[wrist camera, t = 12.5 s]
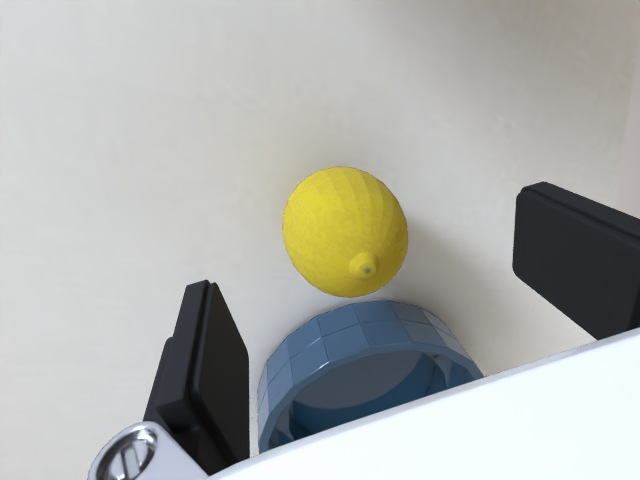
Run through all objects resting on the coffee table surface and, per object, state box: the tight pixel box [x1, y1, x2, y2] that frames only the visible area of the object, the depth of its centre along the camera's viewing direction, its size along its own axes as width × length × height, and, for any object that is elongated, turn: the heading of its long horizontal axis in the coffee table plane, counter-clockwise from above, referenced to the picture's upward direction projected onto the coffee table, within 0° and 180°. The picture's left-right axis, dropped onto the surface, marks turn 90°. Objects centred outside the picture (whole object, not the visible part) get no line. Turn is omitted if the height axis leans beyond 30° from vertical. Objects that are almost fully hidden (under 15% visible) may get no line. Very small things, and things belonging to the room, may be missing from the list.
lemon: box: [282, 167, 408, 298], centre depth 16 cm, size 6×6×8 cm
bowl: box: [257, 300, 484, 454], centre depth 24 cm, size 15×15×4 cm
